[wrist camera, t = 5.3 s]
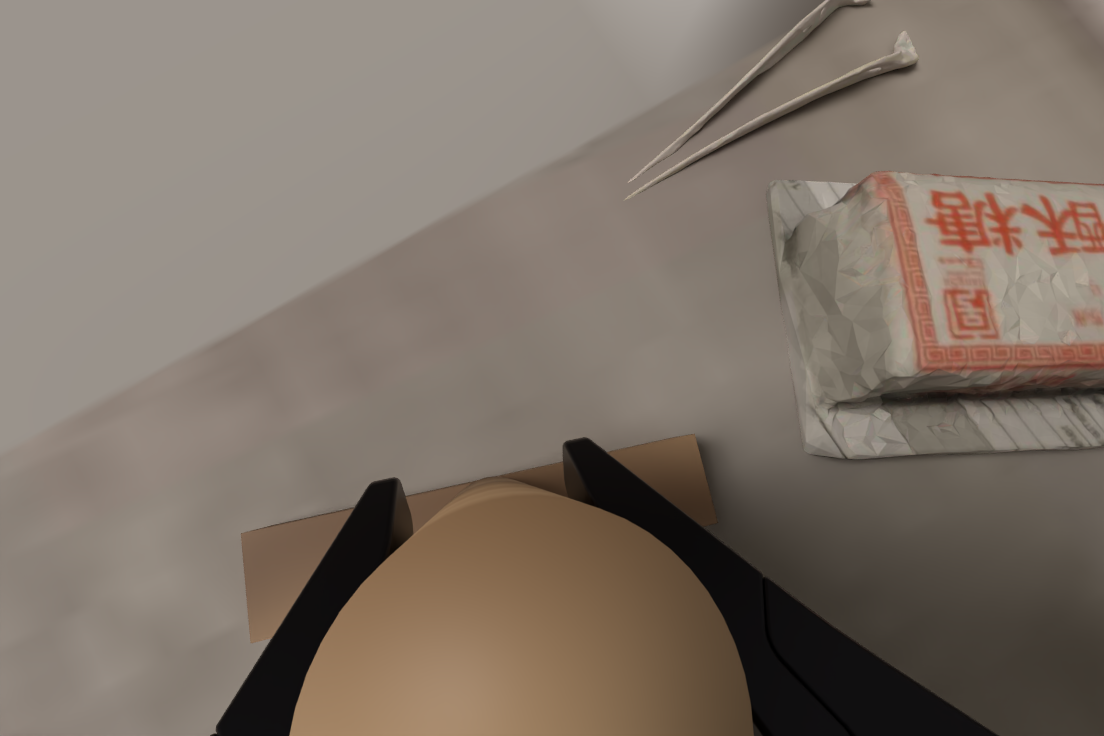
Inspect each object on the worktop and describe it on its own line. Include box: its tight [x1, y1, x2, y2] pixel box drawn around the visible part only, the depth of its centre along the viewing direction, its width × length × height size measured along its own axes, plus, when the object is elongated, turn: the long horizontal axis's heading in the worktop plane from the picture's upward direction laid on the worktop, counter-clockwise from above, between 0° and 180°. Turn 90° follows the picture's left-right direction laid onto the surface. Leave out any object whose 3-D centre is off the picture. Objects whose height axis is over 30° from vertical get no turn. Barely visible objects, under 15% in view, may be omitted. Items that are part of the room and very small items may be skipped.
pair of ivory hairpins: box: [623, 0, 919, 201], centre depth 18 cm, size 17×5×2 cm, turn 128°
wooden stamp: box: [241, 434, 754, 736], centre depth 8 cm, size 3×12×12 cm, turn 103°
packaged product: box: [766, 171, 1104, 459], centre depth 16 cm, size 18×5×10 cm
